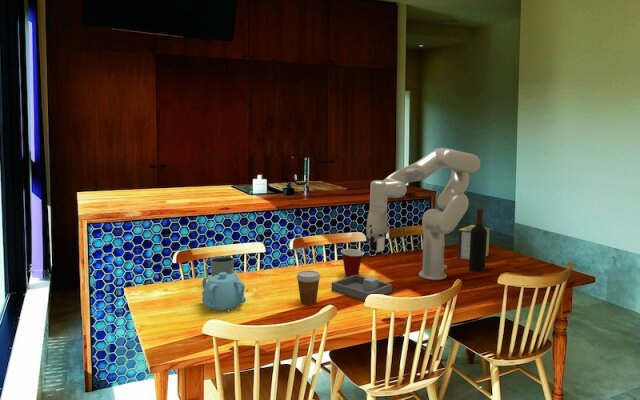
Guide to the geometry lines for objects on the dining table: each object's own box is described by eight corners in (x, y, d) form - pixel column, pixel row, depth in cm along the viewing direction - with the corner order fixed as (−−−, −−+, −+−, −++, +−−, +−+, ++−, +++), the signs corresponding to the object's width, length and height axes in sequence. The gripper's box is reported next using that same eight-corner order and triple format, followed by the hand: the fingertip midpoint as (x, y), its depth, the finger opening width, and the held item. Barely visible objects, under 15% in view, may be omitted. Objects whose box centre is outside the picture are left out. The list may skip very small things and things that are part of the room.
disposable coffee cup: (301, 308, 205) (301, 278, 203) (293, 300, 214) (293, 271, 212) (324, 304, 209) (324, 275, 207) (314, 297, 217) (314, 269, 216)
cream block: (376, 248, 238) (376, 235, 237) (384, 250, 235) (384, 237, 234) (369, 250, 235) (370, 236, 234) (377, 252, 232) (378, 238, 231)
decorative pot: (201, 301, 213) (200, 268, 210) (241, 297, 217) (240, 265, 215) (203, 316, 197) (202, 281, 195) (246, 311, 201) (246, 277, 199)
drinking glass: (206, 287, 229) (205, 260, 227) (218, 280, 238) (218, 255, 236) (227, 290, 225) (226, 263, 224) (238, 283, 235) (238, 257, 233)
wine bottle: (467, 271, 255) (470, 209, 250) (469, 267, 262) (472, 207, 257) (484, 272, 252) (487, 211, 247) (485, 268, 259) (489, 208, 254)
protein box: (488, 255, 283) (490, 227, 280) (475, 261, 271) (477, 232, 269) (470, 252, 290) (471, 224, 287) (457, 257, 278) (458, 229, 276)
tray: (355, 282, 237) (355, 274, 236) (391, 292, 223) (392, 284, 223) (331, 290, 225) (331, 282, 225) (368, 302, 212) (368, 293, 211)
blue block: (369, 290, 224) (370, 277, 223) (378, 293, 221) (378, 279, 220) (363, 293, 221) (363, 279, 220) (371, 295, 218) (372, 281, 217)
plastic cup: (362, 280, 240) (362, 254, 238) (338, 278, 242) (339, 253, 240) (365, 273, 250) (365, 248, 248) (342, 272, 252) (342, 247, 250)
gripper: (383, 205, 240) (381, 244, 243) (359, 209, 228) (358, 250, 231) (396, 207, 235) (395, 247, 238) (373, 212, 223) (371, 254, 226)
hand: (377, 248), depth 235 cm, fingers closed on cream block, 4 cm apart
